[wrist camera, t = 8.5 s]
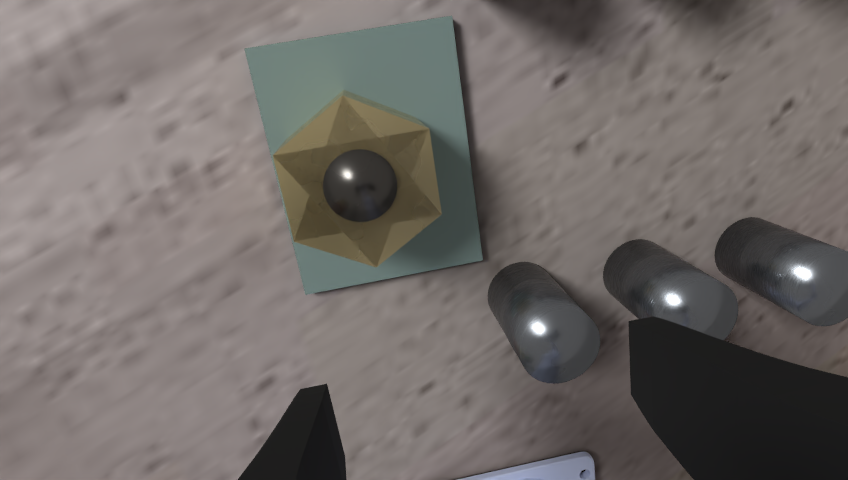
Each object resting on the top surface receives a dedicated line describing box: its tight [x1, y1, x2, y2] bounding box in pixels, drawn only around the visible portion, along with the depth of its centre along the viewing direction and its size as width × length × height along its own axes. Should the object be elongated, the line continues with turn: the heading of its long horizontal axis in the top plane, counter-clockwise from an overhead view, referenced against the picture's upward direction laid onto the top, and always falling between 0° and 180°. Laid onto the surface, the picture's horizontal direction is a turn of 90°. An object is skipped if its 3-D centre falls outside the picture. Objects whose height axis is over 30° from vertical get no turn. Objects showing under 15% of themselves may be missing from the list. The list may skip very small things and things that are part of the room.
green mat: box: [245, 16, 483, 295], centre depth 20 cm, size 9×7×1 cm
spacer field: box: [488, 217, 848, 383], centre depth 19 cm, size 16×13×4 cm
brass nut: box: [273, 90, 442, 267], centre depth 18 cm, size 5×5×4 cm
